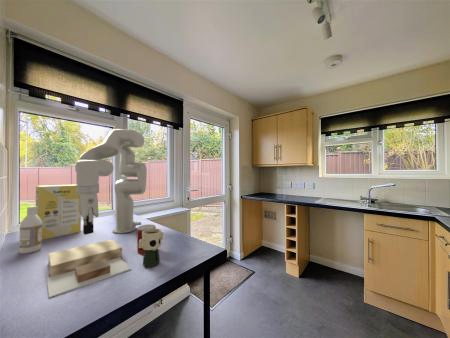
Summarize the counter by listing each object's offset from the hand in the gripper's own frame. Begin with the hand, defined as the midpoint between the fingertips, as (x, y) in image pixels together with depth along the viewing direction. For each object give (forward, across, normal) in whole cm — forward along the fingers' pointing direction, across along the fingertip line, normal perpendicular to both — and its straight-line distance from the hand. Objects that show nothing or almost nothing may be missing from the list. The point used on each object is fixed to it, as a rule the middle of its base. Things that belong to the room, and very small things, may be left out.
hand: (88, 233), depth 78 cm
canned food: (+11, -10, -20) cm, 25 cm away
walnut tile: (+7, -17, +2) cm, 18 cm away
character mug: (+10, -24, -16) cm, 31 cm away
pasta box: (+12, +49, +6) cm, 51 cm away
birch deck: (+10, -2, +1) cm, 11 cm away
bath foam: (+11, +27, +17) cm, 34 cm away
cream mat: (+10, -16, +2) cm, 19 cm away
